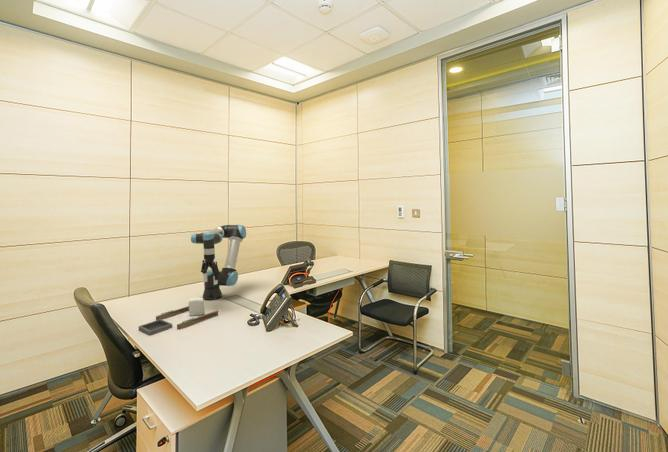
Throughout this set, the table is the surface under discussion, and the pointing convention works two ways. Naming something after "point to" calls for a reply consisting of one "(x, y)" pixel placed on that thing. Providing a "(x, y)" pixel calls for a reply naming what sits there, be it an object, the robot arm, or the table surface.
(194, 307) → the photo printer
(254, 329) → the table surface
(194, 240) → the robot arm
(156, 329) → the tray
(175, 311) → the brown parallel rails
